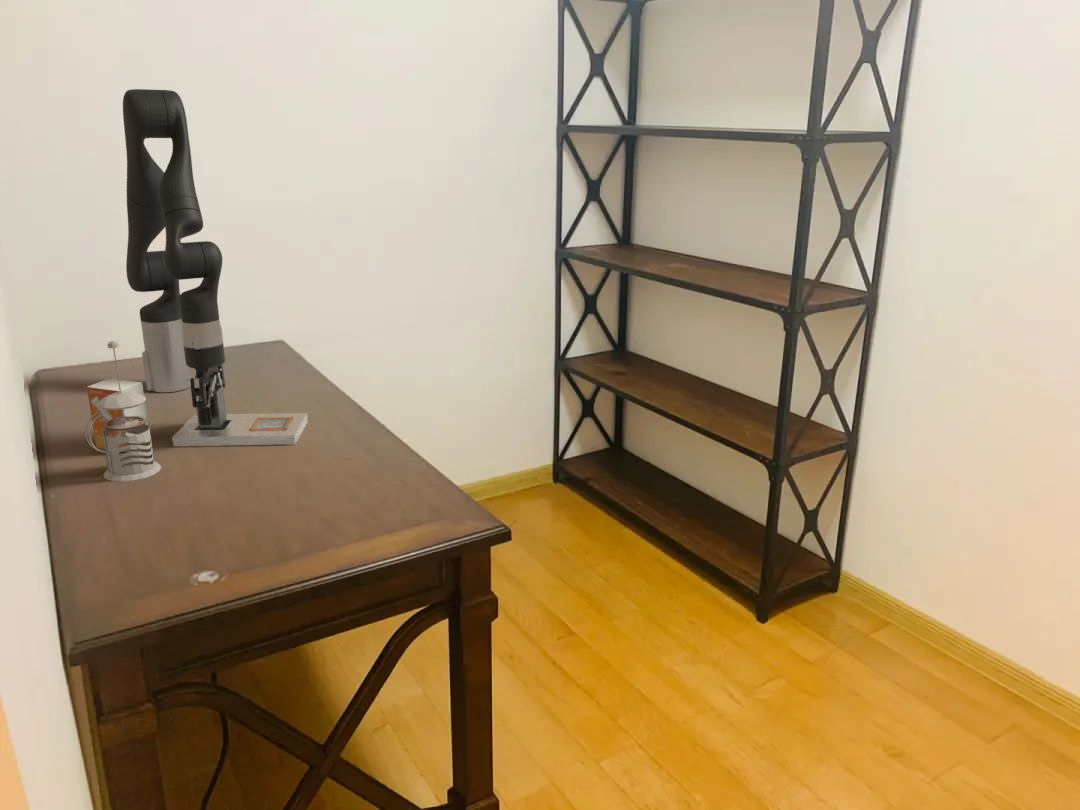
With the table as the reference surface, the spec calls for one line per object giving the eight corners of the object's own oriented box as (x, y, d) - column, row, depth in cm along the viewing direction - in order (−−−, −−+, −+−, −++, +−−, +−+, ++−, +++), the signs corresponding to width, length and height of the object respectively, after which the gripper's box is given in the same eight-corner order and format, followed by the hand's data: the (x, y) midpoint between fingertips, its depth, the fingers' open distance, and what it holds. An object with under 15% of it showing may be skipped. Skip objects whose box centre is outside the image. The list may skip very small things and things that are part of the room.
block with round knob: (200, 438, 173) (194, 388, 169) (206, 430, 177) (200, 382, 174) (222, 437, 173) (216, 388, 170) (227, 430, 177) (222, 381, 174)
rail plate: (173, 446, 168) (172, 436, 167) (195, 423, 181) (193, 413, 181) (295, 444, 170) (294, 434, 169) (307, 421, 183) (306, 412, 182)
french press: (170, 470, 156) (152, 340, 148) (105, 489, 148) (83, 352, 140) (148, 457, 163) (129, 331, 155) (84, 473, 155) (61, 342, 147)
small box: (95, 448, 166) (85, 386, 162) (119, 438, 172) (110, 377, 168) (128, 453, 164) (119, 390, 160) (152, 442, 170) (143, 381, 166)
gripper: (195, 333, 175) (204, 407, 180) (172, 351, 162) (182, 429, 167) (231, 333, 176) (239, 406, 181) (212, 350, 162) (221, 429, 167)
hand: (212, 417), depth 174 cm, fingers open, 8 cm apart
